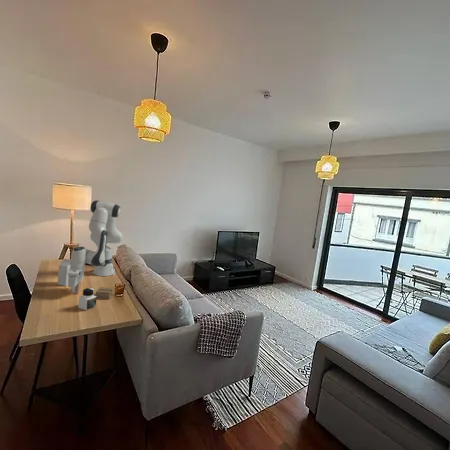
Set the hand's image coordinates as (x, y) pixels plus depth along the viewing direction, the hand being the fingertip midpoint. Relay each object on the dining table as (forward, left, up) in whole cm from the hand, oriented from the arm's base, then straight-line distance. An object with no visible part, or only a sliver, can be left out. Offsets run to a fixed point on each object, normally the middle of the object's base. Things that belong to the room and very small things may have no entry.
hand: (75, 289), depth 181 cm
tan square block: (+4, +20, -3) cm, 21 cm away
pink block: (0, 0, -3) cm, 3 cm away
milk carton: (-16, -12, -3) cm, 20 cm away
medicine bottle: (+23, +14, -3) cm, 27 cm away
